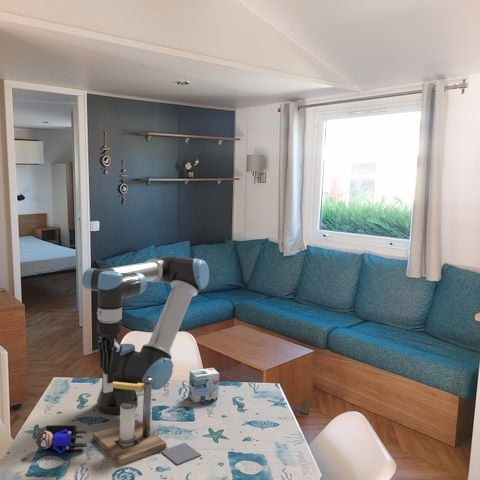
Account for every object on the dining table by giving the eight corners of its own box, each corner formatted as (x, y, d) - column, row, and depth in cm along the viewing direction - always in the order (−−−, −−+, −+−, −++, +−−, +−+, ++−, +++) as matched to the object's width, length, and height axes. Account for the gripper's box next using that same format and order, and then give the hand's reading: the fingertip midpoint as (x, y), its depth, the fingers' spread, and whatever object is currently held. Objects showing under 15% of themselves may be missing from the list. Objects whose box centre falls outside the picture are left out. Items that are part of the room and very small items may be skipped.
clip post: (138, 435, 160) (140, 377, 158) (147, 432, 163) (149, 375, 161) (143, 440, 158) (146, 381, 156) (153, 437, 160) (155, 378, 158)
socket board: (92, 439, 160) (93, 433, 160) (136, 425, 171) (136, 419, 171) (120, 465, 146) (121, 459, 146) (166, 448, 157) (166, 442, 157)
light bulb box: (194, 403, 191) (195, 376, 190) (187, 396, 197) (188, 370, 196) (218, 399, 196) (220, 373, 195) (211, 392, 202) (213, 367, 200)
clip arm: (105, 388, 162) (105, 379, 161) (143, 392, 160) (144, 383, 160) (102, 391, 159) (103, 382, 159) (141, 395, 158) (141, 386, 157)
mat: (161, 452, 154) (161, 451, 154) (184, 443, 160) (184, 442, 160) (177, 465, 148) (177, 464, 148) (201, 455, 154) (201, 454, 154)
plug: (114, 447, 156) (116, 403, 154) (129, 442, 160) (131, 399, 158) (123, 454, 152) (124, 410, 150) (138, 449, 156) (139, 405, 154)
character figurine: (84, 456, 150) (34, 456, 149) (89, 442, 157) (41, 442, 156) (83, 433, 149) (33, 433, 148) (89, 420, 156) (41, 420, 155)
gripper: (89, 317, 158) (88, 387, 160) (108, 326, 148) (106, 401, 150) (110, 314, 163) (109, 382, 165) (130, 323, 153) (128, 395, 155)
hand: (108, 391), depth 158 cm, fingers closed
